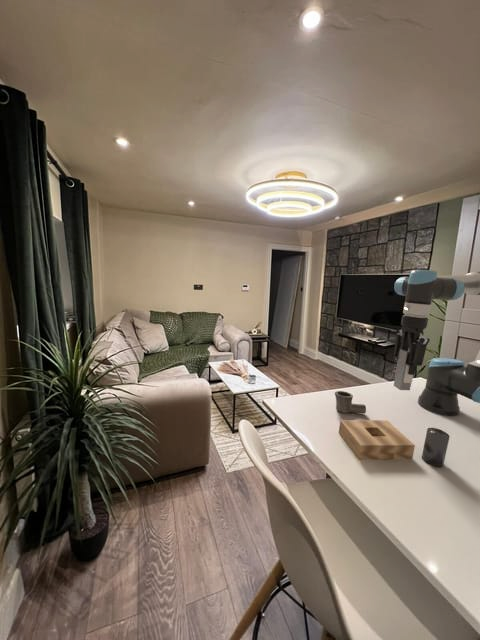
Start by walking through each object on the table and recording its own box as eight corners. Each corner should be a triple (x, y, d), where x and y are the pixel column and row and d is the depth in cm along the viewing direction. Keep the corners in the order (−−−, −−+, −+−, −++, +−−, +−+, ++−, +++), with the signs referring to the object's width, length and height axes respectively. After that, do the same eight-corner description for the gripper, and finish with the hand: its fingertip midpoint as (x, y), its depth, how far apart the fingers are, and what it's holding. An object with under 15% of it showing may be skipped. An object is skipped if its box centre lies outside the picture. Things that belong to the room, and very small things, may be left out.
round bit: (433, 455, 86) (439, 427, 84) (447, 467, 80) (454, 438, 79) (417, 455, 85) (422, 427, 84) (431, 467, 80) (437, 438, 78)
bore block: (385, 432, 97) (387, 420, 96) (412, 459, 83) (415, 445, 82) (338, 432, 95) (340, 420, 94) (358, 459, 82) (360, 445, 81)
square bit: (402, 386, 96) (409, 349, 93) (409, 390, 92) (417, 352, 90) (393, 385, 95) (400, 349, 93) (400, 390, 92) (407, 352, 89)
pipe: (366, 418, 107) (368, 400, 105) (333, 413, 109) (335, 395, 108) (362, 410, 112) (365, 393, 111) (331, 406, 115) (333, 389, 113)
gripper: (389, 311, 97) (379, 370, 101) (423, 319, 81) (409, 389, 85) (408, 312, 98) (397, 371, 102) (446, 320, 81) (431, 390, 85)
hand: (403, 379), depth 93 cm, fingers closed on square bit, 4 cm apart
